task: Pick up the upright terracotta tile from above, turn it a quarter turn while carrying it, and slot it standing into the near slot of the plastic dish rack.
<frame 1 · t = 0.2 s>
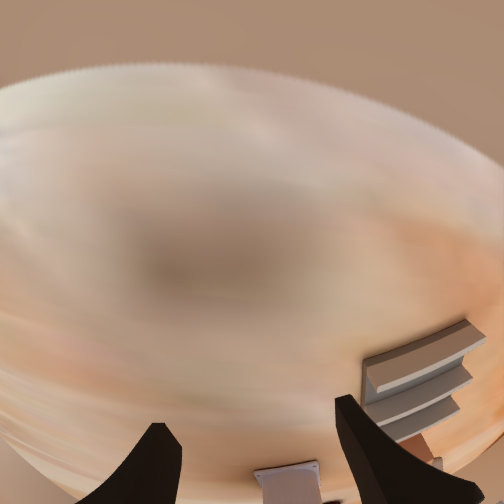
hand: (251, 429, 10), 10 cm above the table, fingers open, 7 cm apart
dish rack: (413, 382, 22), on the table
flask: (425, 466, 32), on the table
terracotta tile: (397, 439, 26), on the table
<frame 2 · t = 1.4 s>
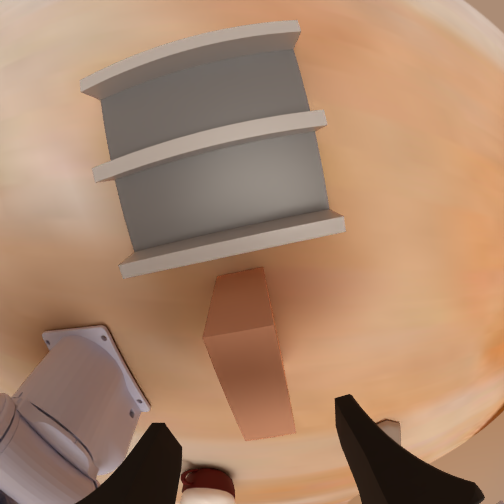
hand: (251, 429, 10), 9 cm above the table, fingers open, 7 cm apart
cocoa: (210, 473, 26), on the table
dish rack: (210, 146, 15), on the table
flask: (372, 437, 25), on the table
terracotta tile: (252, 323, 19), on the table
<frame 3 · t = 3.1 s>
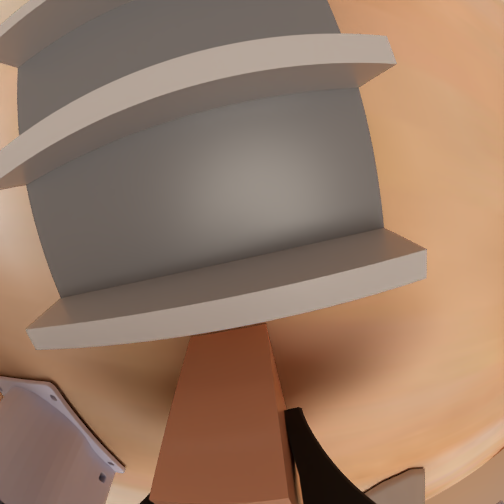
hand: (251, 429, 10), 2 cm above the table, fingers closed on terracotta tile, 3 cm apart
dish rack: (170, 116, 8), on the table
flask: (391, 483, 17), on the table
terracotta tile: (250, 398, 12), on the table, touching gripper
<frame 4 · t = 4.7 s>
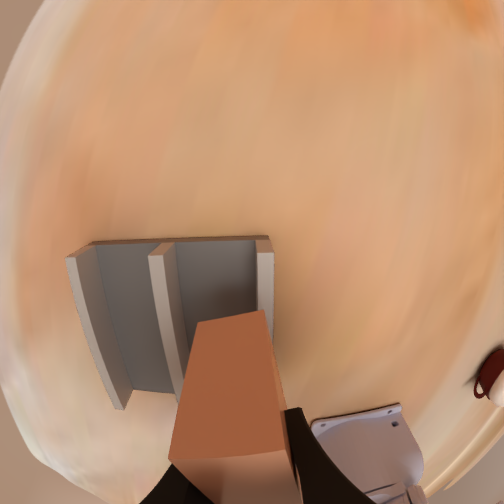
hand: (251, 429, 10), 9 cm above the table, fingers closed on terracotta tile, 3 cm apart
cocoa: (490, 362, 22), on the table
dish rack: (182, 324, 18), on the table
terracotta tile: (250, 379, 13), point 5 cm above the table, touching gripper
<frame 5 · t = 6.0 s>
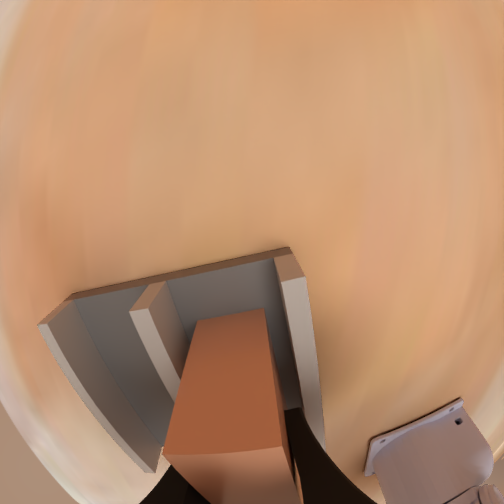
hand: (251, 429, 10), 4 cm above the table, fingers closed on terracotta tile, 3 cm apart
dish rack: (201, 372, 14), on the table
terracotta tile: (250, 379, 13), point 1 cm above the table, touching dish rack, gripper
when the fingers open (4 cm above the table, at t = 6.3 s): terracotta tile stays where it is, resting on dish rack.
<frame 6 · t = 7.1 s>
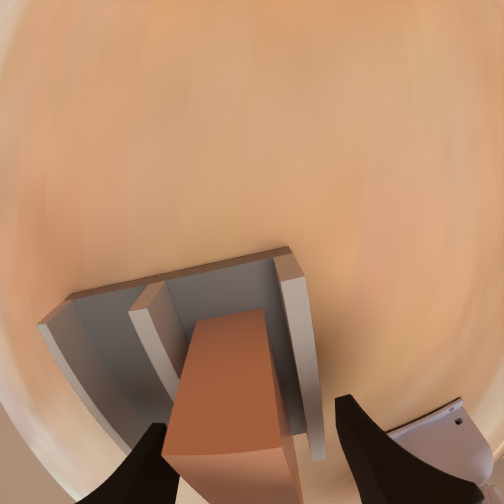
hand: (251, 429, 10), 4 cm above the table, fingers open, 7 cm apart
dish rack: (201, 373, 14), on the table
terracotta tile: (249, 379, 13), point 1 cm above the table, touching dish rack
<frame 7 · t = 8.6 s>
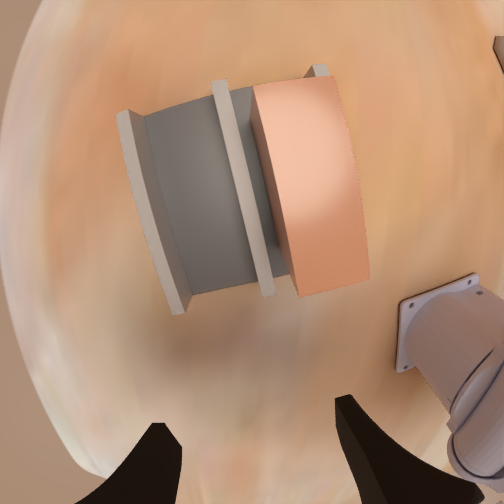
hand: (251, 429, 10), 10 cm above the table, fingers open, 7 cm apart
dish rack: (244, 185, 17), on the table
terracotta tile: (289, 179, 16), point 1 cm above the table, touching dish rack
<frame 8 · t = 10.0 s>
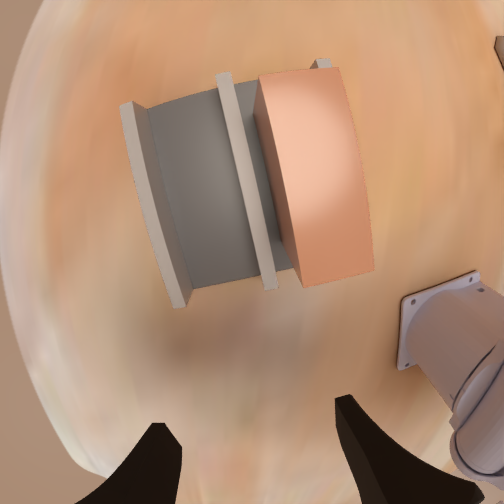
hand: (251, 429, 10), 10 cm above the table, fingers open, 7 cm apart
dish rack: (247, 179, 17), on the table
terracotta tile: (292, 172, 16), point 1 cm above the table, touching dish rack
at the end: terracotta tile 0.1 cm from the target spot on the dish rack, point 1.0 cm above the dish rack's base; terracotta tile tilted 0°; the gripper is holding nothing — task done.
